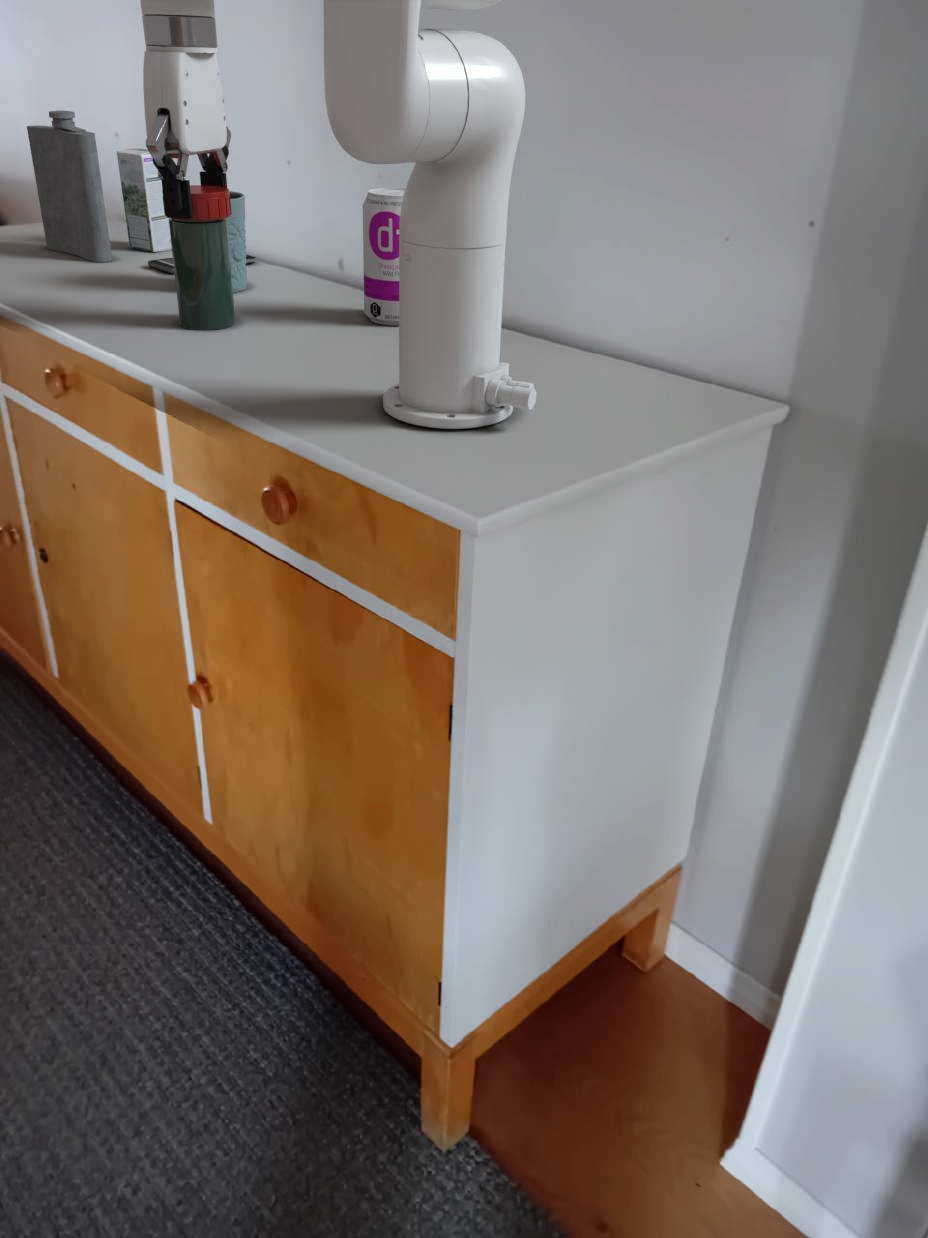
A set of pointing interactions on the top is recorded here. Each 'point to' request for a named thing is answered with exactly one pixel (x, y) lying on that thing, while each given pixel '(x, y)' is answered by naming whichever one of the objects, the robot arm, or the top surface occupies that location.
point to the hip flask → (70, 188)
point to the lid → (209, 202)
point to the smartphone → (169, 266)
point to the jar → (202, 273)
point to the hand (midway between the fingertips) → (198, 212)
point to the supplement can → (382, 254)
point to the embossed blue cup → (237, 241)
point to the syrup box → (143, 201)
